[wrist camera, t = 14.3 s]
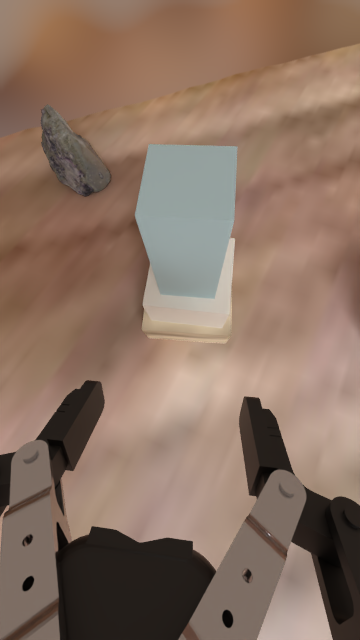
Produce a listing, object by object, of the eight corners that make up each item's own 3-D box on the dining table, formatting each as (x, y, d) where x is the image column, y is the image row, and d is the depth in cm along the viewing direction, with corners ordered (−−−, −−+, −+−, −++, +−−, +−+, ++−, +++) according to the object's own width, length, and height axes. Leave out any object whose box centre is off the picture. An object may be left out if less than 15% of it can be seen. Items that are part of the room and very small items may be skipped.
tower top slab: (222, 328, 25) (229, 314, 20) (151, 320, 26) (142, 305, 21) (227, 264, 27) (234, 238, 22) (162, 258, 28) (156, 232, 23)
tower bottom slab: (224, 344, 29) (231, 335, 25) (149, 338, 30) (141, 329, 25) (226, 275, 32) (232, 255, 27) (157, 271, 33) (151, 252, 28)
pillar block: (214, 298, 21) (234, 220, 11) (160, 294, 21) (134, 215, 11) (217, 251, 22) (237, 146, 12) (167, 248, 22) (148, 144, 13)
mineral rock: (53, 147, 41) (11, 74, 32) (111, 139, 41) (86, 63, 31) (50, 203, 37) (1, 140, 28) (114, 194, 37) (86, 127, 28)
